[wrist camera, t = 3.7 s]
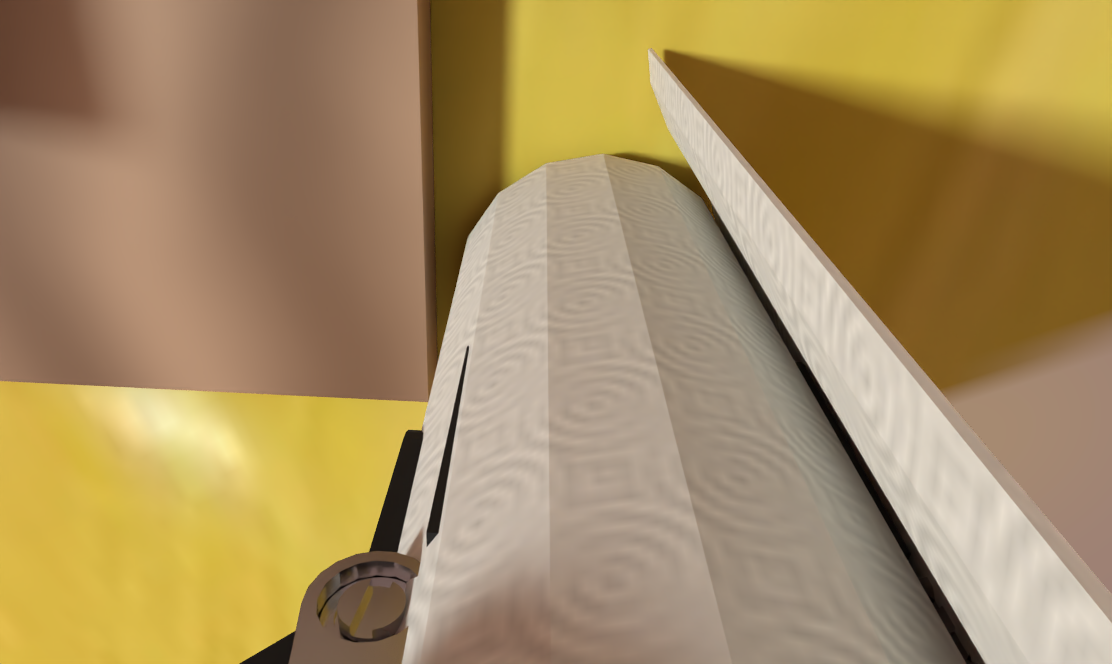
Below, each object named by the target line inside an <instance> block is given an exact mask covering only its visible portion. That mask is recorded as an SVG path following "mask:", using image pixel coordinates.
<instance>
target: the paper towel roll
mask: <svg viewBox="0 0 1112 664" xmlns="http://www.w3.org/2000/svg"><path fill="white" fill-rule="evenodd" d="M648 56H649V69H650V83H651V86H652V88H653V91H654V93H655V96H656V99H657V101H658V104H659V107H660V109H661V112H662V114H663V117H664V120H665V122H666V125H667V127H668V130H669V131H670V133H671V135H672V137H673V138H674V140H675V142H676V143H677V145H678V147H679V148H680V150H681V152H682V153H683V155H684V157H685V158H686V160H687V162H688V163H689V165H690V167H691V169H692V170H693V172H694V174H695V175H696V177H697V179H698V180H699V182H700V184H701V185H702V187H703V189H704V190H705V192H706V194H707V195H708V197H709V199H710V201H711V205H712V210H713V214H714V219H715V220H714V219H713V217H712V215H711V213H710V212H709V210H708V208H707V206H706V204H705V203H704V201H703V199H702V198H701V197H700V196H698V195H697V194H696V193H694V192H693V191H691V190H690V189H689V188H687V187H686V186H685V185H683V184H682V183H681V182H679V181H678V180H676V179H675V178H674V177H672V176H671V175H670V174H668V173H667V172H666V171H664V170H663V169H661V168H660V167H659V166H655V165H650V164H646V163H642V162H637V161H633V160H629V159H624V158H620V157H615V156H611V155H607V154H598V155H592V156H586V157H581V158H575V159H569V160H563V161H557V162H551V163H546V164H544V165H543V166H541V167H539V168H538V169H536V170H535V171H533V172H531V173H530V174H528V175H526V176H525V177H523V178H522V179H520V180H518V181H517V182H515V183H514V184H512V185H510V186H509V187H507V188H506V189H504V190H502V191H501V192H499V193H498V194H497V196H496V197H495V199H494V200H493V201H492V203H491V204H490V206H489V207H488V209H487V210H486V211H485V213H484V214H483V216H482V217H481V219H480V220H479V221H478V223H477V224H476V226H475V227H474V229H473V230H472V231H471V233H470V234H469V236H468V239H467V243H466V247H465V251H464V255H463V259H462V264H461V268H460V272H459V276H458V280H457V284H456V289H455V293H454V297H453V301H452V305H451V310H450V314H449V318H448V322H447V326H446V330H445V335H444V339H443V343H442V347H441V351H440V355H439V360H438V364H437V368H436V372H435V376H434V380H433V385H432V389H431V393H430V397H429V401H428V406H427V410H426V414H425V418H424V422H423V426H422V432H423V433H424V434H423V442H422V446H421V451H420V455H419V460H418V464H417V468H416V473H415V477H414V482H413V486H412V490H411V495H410V499H409V504H408V508H407V513H406V517H405V521H404V526H403V530H402V535H401V539H400V544H399V548H398V552H397V553H400V554H404V555H407V556H410V557H413V558H415V559H416V560H418V561H419V562H421V563H420V568H419V573H418V576H417V577H415V578H412V579H410V580H409V581H408V582H407V583H406V589H405V595H406V611H405V614H404V617H403V620H402V622H401V624H400V626H399V628H398V630H397V632H396V633H395V635H396V634H399V633H400V632H401V631H403V630H404V629H405V628H407V627H408V626H409V627H408V633H407V638H406V643H405V649H404V654H403V659H402V664H966V662H965V660H964V659H963V657H962V655H961V653H960V652H959V650H958V648H957V646H956V645H955V643H954V641H953V639H952V638H951V636H950V634H949V632H948V631H947V629H946V627H945V625H944V623H943V622H942V620H941V618H940V616H939V615H938V613H937V611H936V609H935V608H934V606H933V604H932V602H931V601H930V599H929V597H928V595H927V594H926V592H925V590H924V588H923V587H922V585H921V583H920V581H919V579H921V578H924V577H928V579H929V581H930V583H931V584H932V586H933V590H934V597H935V601H936V603H937V605H938V606H939V608H940V607H941V606H943V607H944V609H945V611H946V613H947V614H948V616H949V618H950V619H951V621H952V623H953V625H954V626H955V633H956V635H957V637H958V638H959V640H960V642H961V644H962V645H963V647H964V649H965V651H966V652H967V654H968V656H969V653H970V657H971V661H972V662H974V663H978V664H1112V594H1111V593H1110V592H1109V591H1108V590H1107V589H1106V588H1105V586H1104V585H1103V584H1102V582H1101V581H1100V580H1099V579H1098V578H1097V577H1096V575H1095V574H1094V573H1093V572H1092V571H1091V569H1090V568H1089V567H1088V566H1087V565H1086V564H1085V562H1084V561H1083V560H1082V559H1081V558H1080V556H1079V555H1078V554H1077V553H1076V552H1075V550H1074V549H1073V548H1072V547H1071V546H1070V544H1068V542H1067V541H1066V540H1065V539H1064V537H1063V536H1062V535H1061V534H1060V533H1059V531H1058V530H1057V529H1056V528H1055V527H1054V526H1053V524H1052V523H1051V522H1050V521H1049V520H1048V518H1047V517H1046V516H1045V515H1044V514H1043V512H1042V511H1041V510H1040V509H1039V508H1038V506H1037V505H1036V504H1035V503H1034V502H1033V501H1032V499H1031V498H1030V497H1029V496H1028V495H1027V493H1026V492H1025V491H1024V490H1023V489H1022V488H1021V486H1020V485H1019V484H1018V483H1017V481H1016V480H1015V479H1014V478H1013V477H1012V476H1011V474H1010V473H1009V472H1008V471H1007V470H1006V468H1005V467H1004V466H1003V465H1002V464H1001V463H1000V461H999V460H998V459H997V458H996V457H995V455H994V454H993V453H992V452H991V451H990V449H989V448H988V447H987V446H986V445H985V443H984V442H983V441H982V440H981V439H980V438H979V436H978V435H977V434H976V433H975V432H974V430H973V429H972V428H971V427H970V426H969V424H968V423H967V422H966V421H965V420H964V419H963V417H962V416H961V415H960V414H959V413H958V411H957V410H956V409H955V408H954V407H953V405H952V404H951V403H950V402H949V401H948V399H947V398H946V397H945V396H944V395H943V394H942V392H941V391H940V390H939V389H938V388H937V386H936V385H935V384H934V383H933V382H932V380H931V379H930V378H929V377H928V376H927V375H926V373H925V372H924V371H923V370H922V369H921V367H920V366H919V365H918V364H917V363H916V361H915V360H914V359H913V358H912V357H911V356H910V354H909V353H908V352H907V351H906V350H905V348H904V347H903V346H902V345H901V344H900V342H899V341H898V340H897V339H896V338H895V337H894V335H893V334H892V333H891V332H890V331H889V329H888V328H887V327H886V326H885V325H884V323H883V322H882V321H881V320H880V319H879V318H878V316H877V315H876V314H875V313H874V312H873V310H872V309H871V308H870V307H869V306H868V304H867V303H866V302H865V301H864V300H863V298H862V297H861V296H860V295H859V294H858V293H857V291H856V290H855V289H854V288H853V287H852V285H851V284H850V283H849V282H848V281H847V279H846V278H845V277H844V276H843V275H842V274H841V272H840V271H839V270H838V269H837V268H836V266H835V265H834V264H833V263H832V262H831V260H830V259H829V258H828V257H827V256H826V255H825V253H824V252H823V251H822V250H821V249H820V247H819V246H818V245H817V244H816V243H815V241H814V240H813V239H812V238H811V237H810V236H809V234H808V233H807V232H806V231H805V230H804V228H803V227H802V226H801V225H800V224H799V222H798V221H797V220H796V219H795V218H794V217H793V215H792V214H791V213H790V212H789V211H788V209H787V208H786V207H785V206H784V205H783V203H782V202H781V201H780V200H779V199H778V197H777V196H776V195H775V194H774V193H773V192H772V190H771V189H770V188H769V187H768V186H767V184H766V183H765V182H764V181H763V180H762V178H761V177H760V176H759V175H758V174H757V173H756V171H755V170H754V169H753V168H752V167H751V165H750V164H749V163H748V162H747V161H746V159H745V158H744V157H743V156H742V155H741V154H740V152H739V151H738V150H737V149H736V148H735V146H734V145H733V144H732V143H731V142H730V140H729V139H728V138H727V137H726V136H725V135H724V133H723V132H722V131H721V130H720V129H719V127H718V126H717V125H716V124H715V123H714V121H713V120H712V119H711V118H710V117H709V116H708V114H707V113H706V112H705V111H704V110H703V108H702V107H701V106H700V105H699V104H698V102H697V101H696V100H695V99H694V98H693V96H692V95H691V94H690V93H689V92H688V91H687V89H686V88H685V87H684V86H683V85H682V83H681V82H680V81H679V80H678V79H677V77H676V76H675V75H674V74H673V73H672V72H671V70H670V69H669V68H668V67H667V66H666V64H665V63H664V62H663V61H662V60H661V58H660V57H659V56H658V55H657V54H656V53H655V51H654V50H653V49H652V48H650V49H648ZM467 346H469V352H468V358H467V364H466V371H465V377H464V383H463V389H462V395H461V401H460V407H459V413H458V419H457V425H456V431H455V437H454V443H453V449H452V455H451V461H450V467H449V473H448V480H447V486H446V492H445V498H444V504H443V510H442V516H441V522H440V528H439V533H438V534H437V536H436V537H435V538H434V539H433V540H432V542H431V543H430V544H429V545H428V546H427V541H426V531H427V527H428V522H429V518H430V513H431V509H432V504H433V499H434V495H435V490H436V486H437V481H438V476H439V472H440V467H441V463H442V458H443V454H444V449H445V444H446V440H447V435H448V431H449V426H450V422H451V417H452V412H453V408H454V403H455V399H456V394H457V390H458V385H459V380H460V376H461V371H462V367H463V362H464V358H465V353H466V349H467ZM795 362H802V363H803V364H804V365H805V367H806V368H807V370H808V372H809V374H810V375H811V377H812V379H813V381H814V383H815V384H816V386H817V388H818V390H819V391H820V393H821V395H822V397H823V399H824V400H825V402H826V404H827V406H828V407H829V409H830V411H831V413H832V414H833V416H834V418H835V420H836V422H837V423H838V425H839V427H840V429H841V430H842V432H843V434H844V436H845V438H846V439H847V441H848V443H849V445H850V446H851V448H852V450H853V452H854V453H855V455H856V457H857V459H858V461H859V462H860V464H861V466H862V468H863V469H864V471H865V473H866V475H867V477H868V478H869V480H870V482H871V484H872V485H873V487H874V489H875V491H876V492H877V494H878V496H879V498H880V500H881V501H882V503H883V505H884V507H885V508H886V510H887V512H888V514H889V516H890V517H891V519H892V521H893V523H894V524H895V526H896V528H897V530H898V532H899V533H900V535H901V537H902V539H903V540H904V542H905V544H906V546H907V547H908V549H909V551H910V553H911V555H910V557H909V560H907V558H906V557H905V555H904V553H903V551H902V550H901V548H900V546H899V544H898V542H897V541H896V539H895V537H894V535H893V534H892V532H891V530H890V528H889V527H888V525H887V523H886V521H885V520H884V518H883V516H882V514H881V513H880V511H879V509H878V507H877V506H876V504H875V502H874V500H873V498H872V497H871V495H870V493H869V491H868V490H867V488H866V486H865V484H864V483H863V481H862V479H861V477H860V476H859V474H858V472H857V470H856V469H855V467H854V465H853V463H852V462H851V460H850V458H849V456H848V454H847V453H846V451H845V449H844V447H843V446H842V444H841V442H840V440H839V439H838V437H837V435H836V433H835V432H834V430H833V428H832V426H831V425H830V423H829V421H828V419H827V417H826V416H825V414H824V412H823V410H822V409H821V407H820V405H819V403H818V402H817V400H816V398H815V396H814V395H813V393H812V391H811V389H810V388H809V386H808V384H807V382H806V381H805V379H804V377H803V375H802V373H801V372H800V370H799V368H798V366H797V365H796V363H795Z"/></svg>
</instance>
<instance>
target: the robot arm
mask: <svg viewBox="0 0 1112 664" xmlns="http://www.w3.org/2000/svg"><path fill="white" fill-rule="evenodd" d="M468 352H469V346H467V349H466V353H465V358H464V362H463V367H462V371H461V376H460V380H459V385H458V390H457V394H456V399H455V403H454V408H453V412H452V417H451V422H450V426H449V431H448V435H447V440H446V444H445V449H444V454H443V458H442V463H441V467H440V472H439V476H438V481H437V486H436V490H435V495H434V499H433V504H432V509H431V513H430V518H429V522H428V527H427V531H426V541H427V546H428V545H429V544H430V543H431V542H432V540H433V539H434V538H435V537H436V536H437V534H438V533H439V528H440V522H441V516H442V510H443V504H444V498H445V492H446V486H447V480H448V473H449V467H450V461H451V455H452V449H453V443H454V437H455V431H456V425H457V419H458V413H459V407H460V401H461V395H462V389H463V383H464V377H465V371H466V364H467V358H468ZM795 363H796V365H797V366H798V368H799V370H800V372H801V373H802V375H803V377H804V379H805V381H806V382H807V384H808V386H809V388H810V389H811V391H812V393H813V395H814V396H815V398H816V400H817V402H818V403H819V405H820V407H821V409H822V410H823V412H824V414H825V416H826V417H827V419H828V421H829V423H830V425H831V426H832V428H833V430H834V432H835V433H836V435H837V437H838V439H839V440H840V442H841V444H842V446H843V447H844V449H845V451H846V453H847V454H848V456H849V458H850V460H851V462H852V463H853V465H854V467H855V469H856V470H857V472H858V474H859V476H860V477H861V479H862V481H863V483H864V484H865V486H866V488H867V490H868V491H869V493H870V495H871V497H872V498H873V500H874V502H875V504H876V506H877V507H878V509H879V511H880V513H881V514H882V516H883V518H884V520H885V521H886V523H887V525H888V527H889V528H890V530H891V532H892V534H893V535H894V537H895V539H896V541H897V542H898V544H899V546H900V548H901V550H902V551H903V553H904V555H905V557H906V558H907V560H909V557H910V555H911V553H910V551H909V549H908V547H907V546H906V544H905V542H904V540H903V539H902V537H901V535H900V533H899V532H898V530H897V528H896V526H895V524H894V523H893V521H892V519H891V517H890V516H889V514H888V512H887V510H886V508H885V507H884V505H883V503H882V501H881V500H880V498H879V496H878V494H877V492H876V491H875V489H874V487H873V485H872V484H871V482H870V480H869V478H868V477H867V475H866V473H865V471H864V469H863V468H862V466H861V464H860V462H859V461H858V459H857V457H856V455H855V453H854V452H853V450H852V448H851V446H850V445H849V443H848V441H847V439H846V438H845V436H844V434H843V432H842V430H841V429H840V427H839V425H838V423H837V422H836V420H835V418H834V416H833V414H832V413H831V411H830V409H829V407H828V406H827V404H826V402H825V400H824V399H823V397H822V395H821V393H820V391H819V390H818V388H817V386H816V384H815V383H814V381H813V379H812V377H811V375H810V374H809V372H808V370H807V368H806V367H805V365H804V364H803V363H802V362H795ZM423 434H424V433H423V432H422V431H420V430H408V431H407V432H406V434H405V436H404V439H403V442H402V445H401V449H400V452H399V455H398V459H397V462H396V465H395V468H394V472H393V475H392V478H391V482H390V485H389V488H388V492H387V495H386V498H385V501H384V505H383V508H382V511H381V515H380V518H379V521H378V524H377V528H376V531H375V534H374V538H373V541H372V544H371V548H370V551H369V552H367V553H361V554H356V555H353V556H351V557H348V558H345V559H343V560H340V561H338V562H336V563H334V564H333V565H332V566H330V567H329V568H327V569H326V570H324V571H323V572H321V573H320V574H319V575H318V576H317V578H316V579H315V580H314V581H313V582H312V583H311V584H310V586H309V587H308V589H307V591H306V594H305V596H304V598H303V601H302V603H301V608H300V613H299V617H298V622H297V627H296V631H295V632H293V633H291V634H289V635H288V636H286V637H284V638H283V639H281V640H279V641H277V642H276V643H274V644H272V645H271V646H269V647H267V648H266V649H264V650H262V651H260V652H259V653H257V654H255V655H254V656H252V657H250V658H248V659H247V660H245V661H243V662H242V663H240V664H402V659H403V654H404V649H405V643H406V638H407V633H408V627H409V626H408V627H407V628H405V629H404V630H403V631H401V632H400V633H399V634H396V635H395V633H396V632H397V630H398V628H399V626H400V624H401V622H402V620H403V617H404V614H405V611H406V595H405V589H406V583H407V582H408V581H409V580H410V579H412V578H415V577H417V576H418V573H419V568H420V563H421V562H419V561H418V560H416V559H415V558H413V557H410V556H407V555H404V554H400V553H397V552H398V548H399V544H400V539H401V535H402V530H403V526H404V521H405V517H406V513H407V508H408V504H409V499H410V495H411V490H412V486H413V482H414V477H415V473H416V468H417V464H418V460H419V455H420V451H421V446H422V442H423ZM919 581H920V583H921V585H922V587H923V588H924V590H925V592H926V594H927V595H928V597H929V599H930V601H931V602H932V604H933V606H934V608H935V609H936V611H937V613H938V615H939V616H940V618H941V620H942V622H943V623H944V625H945V627H946V629H947V631H948V632H949V634H950V636H951V638H952V639H953V641H954V643H955V645H956V646H957V648H958V650H959V652H960V653H961V655H962V657H963V659H964V660H965V662H966V664H978V663H974V662H972V661H971V657H970V653H969V656H968V654H967V652H966V651H965V649H964V647H963V645H962V644H961V642H960V640H959V638H958V637H957V635H956V633H955V626H954V625H953V623H952V621H951V619H950V618H949V616H948V614H947V613H946V611H945V609H944V607H943V606H941V607H940V608H939V606H938V605H937V603H936V601H935V597H934V590H933V586H932V584H931V583H930V581H929V579H928V577H924V578H921V579H919Z"/></svg>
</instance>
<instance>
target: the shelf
mask: <svg viewBox="0 0 1112 664" xmlns="http://www.w3.org/2000/svg"><path fill="white" fill-rule="evenodd" d="M437 364H438V354H437V305H436V257H435V208H434V159H433V110H432V62H431V13H430V0H0V381H12V382H33V383H53V384H73V385H94V386H114V387H134V388H155V389H175V390H195V391H215V392H236V393H256V394H276V395H297V396H317V397H337V398H358V399H378V400H398V401H419V402H428V401H429V397H430V393H431V389H432V385H433V380H434V376H435V372H436V368H437Z"/></svg>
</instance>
